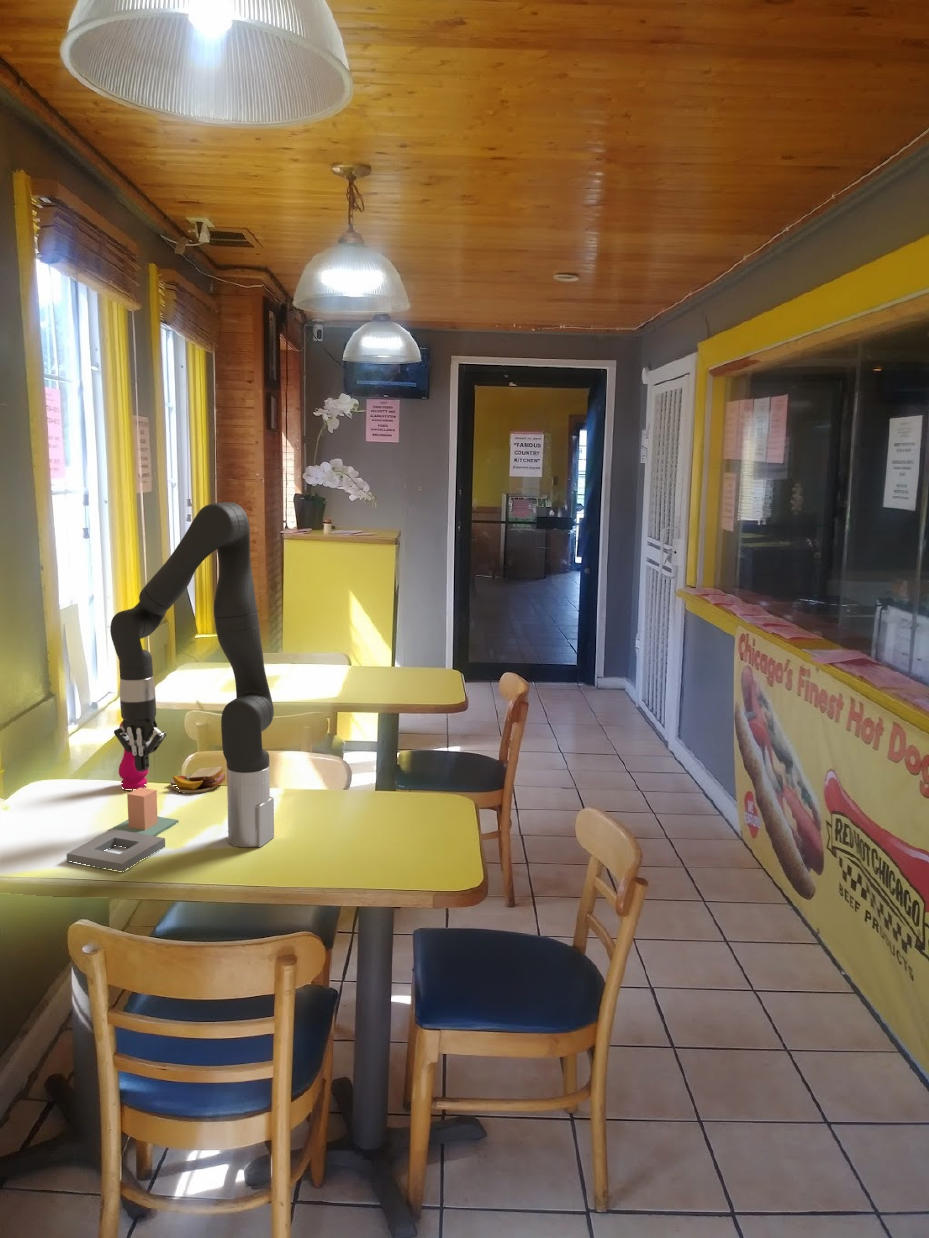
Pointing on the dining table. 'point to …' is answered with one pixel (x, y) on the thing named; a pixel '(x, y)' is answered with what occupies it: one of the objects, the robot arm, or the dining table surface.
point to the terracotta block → (142, 808)
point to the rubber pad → (152, 831)
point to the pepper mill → (131, 772)
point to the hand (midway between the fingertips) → (142, 770)
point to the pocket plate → (97, 857)
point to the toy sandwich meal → (199, 780)
